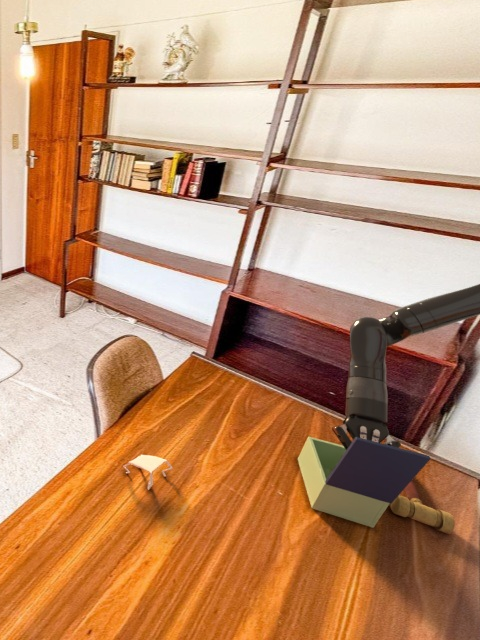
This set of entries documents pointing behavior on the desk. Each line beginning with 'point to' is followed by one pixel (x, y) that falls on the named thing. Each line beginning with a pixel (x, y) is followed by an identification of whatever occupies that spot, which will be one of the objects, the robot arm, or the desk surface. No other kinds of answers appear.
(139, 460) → the miniature stool
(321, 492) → the box
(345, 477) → the lid
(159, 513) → the desk surface
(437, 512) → the gavel
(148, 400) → the desk surface
